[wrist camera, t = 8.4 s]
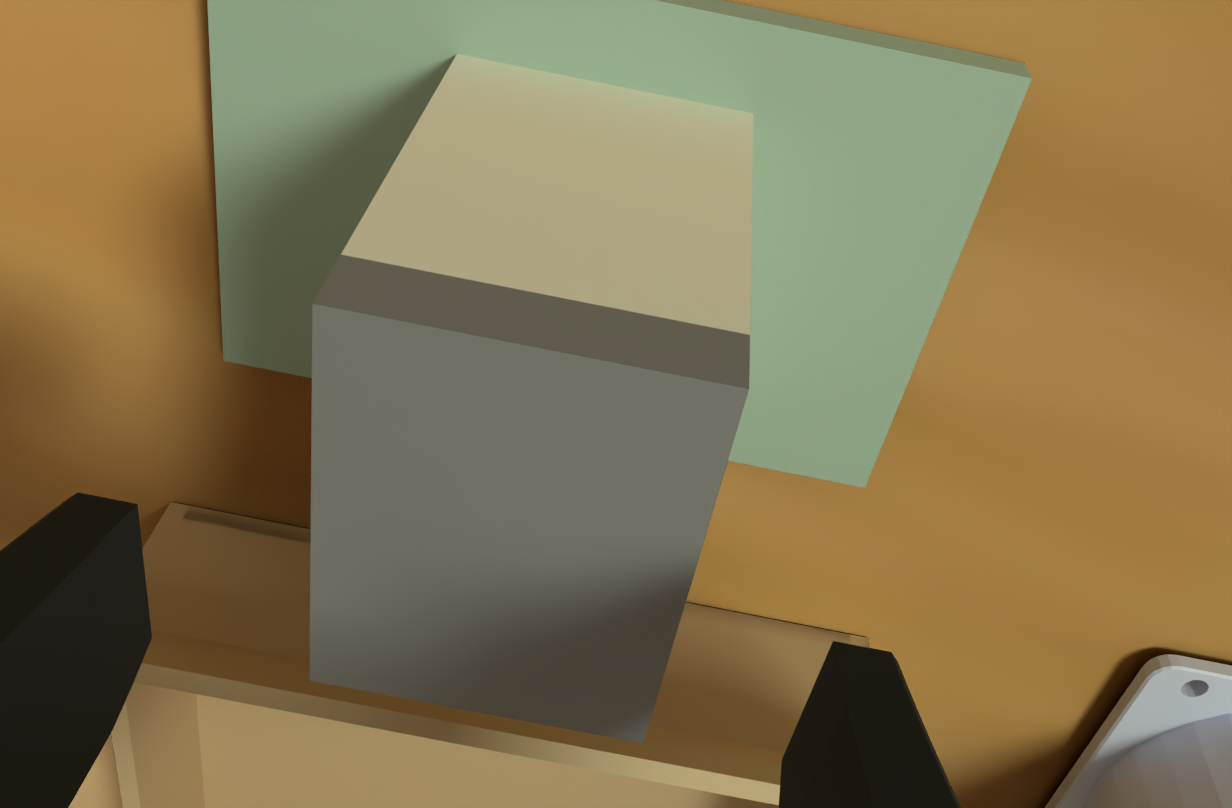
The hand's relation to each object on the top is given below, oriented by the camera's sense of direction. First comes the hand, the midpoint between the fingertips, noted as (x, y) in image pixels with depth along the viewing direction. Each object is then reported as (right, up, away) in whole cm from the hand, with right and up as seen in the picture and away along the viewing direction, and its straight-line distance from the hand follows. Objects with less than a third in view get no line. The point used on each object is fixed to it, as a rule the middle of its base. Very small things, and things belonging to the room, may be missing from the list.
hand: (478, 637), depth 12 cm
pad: (+1, +6, +7) cm, 9 cm away
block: (+1, +5, +7) cm, 9 cm away
